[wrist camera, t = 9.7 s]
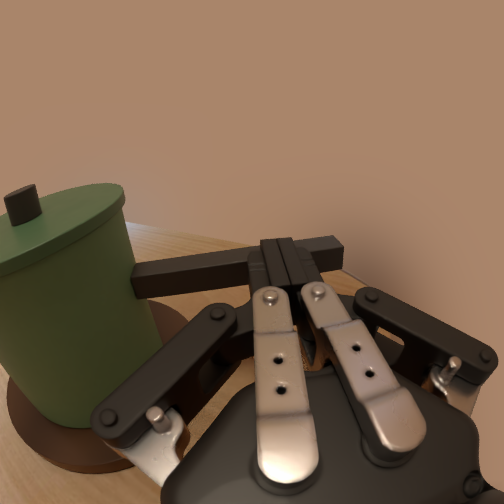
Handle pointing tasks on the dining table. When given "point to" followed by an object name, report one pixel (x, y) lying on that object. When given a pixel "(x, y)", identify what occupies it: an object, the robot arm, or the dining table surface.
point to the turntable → (78, 439)
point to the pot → (93, 295)
